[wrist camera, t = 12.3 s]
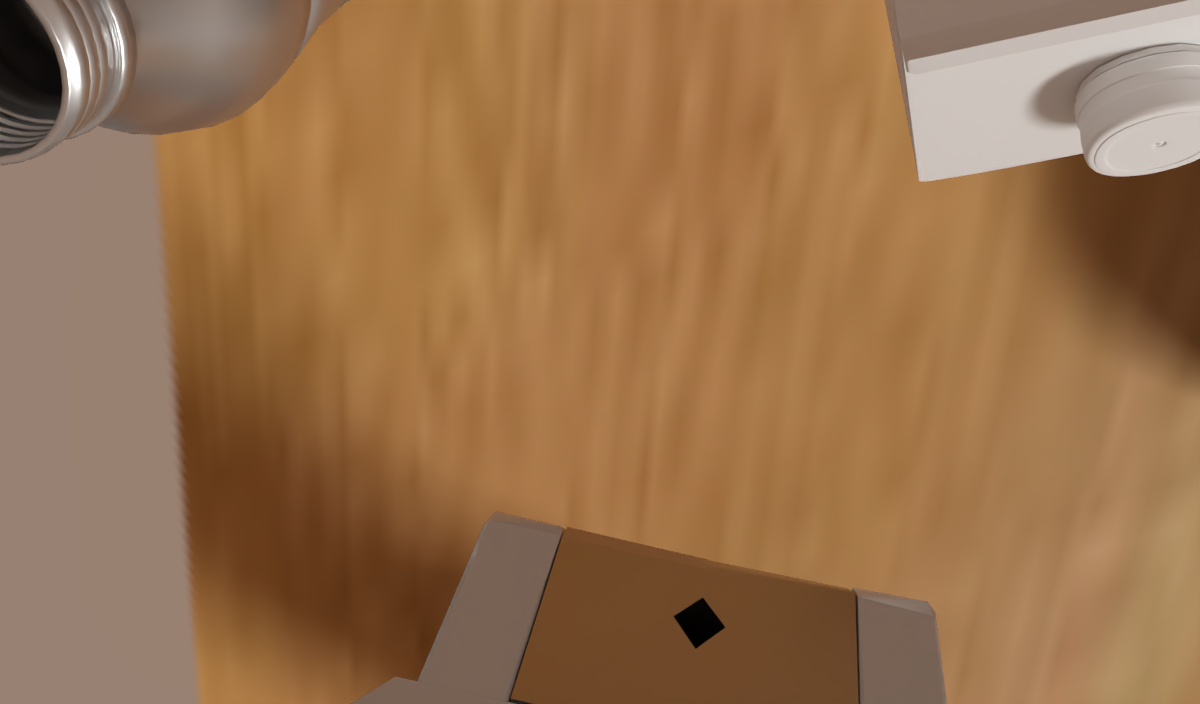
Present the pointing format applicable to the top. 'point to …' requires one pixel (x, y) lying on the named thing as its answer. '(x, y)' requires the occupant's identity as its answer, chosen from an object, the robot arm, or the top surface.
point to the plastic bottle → (140, 64)
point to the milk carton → (1049, 83)
